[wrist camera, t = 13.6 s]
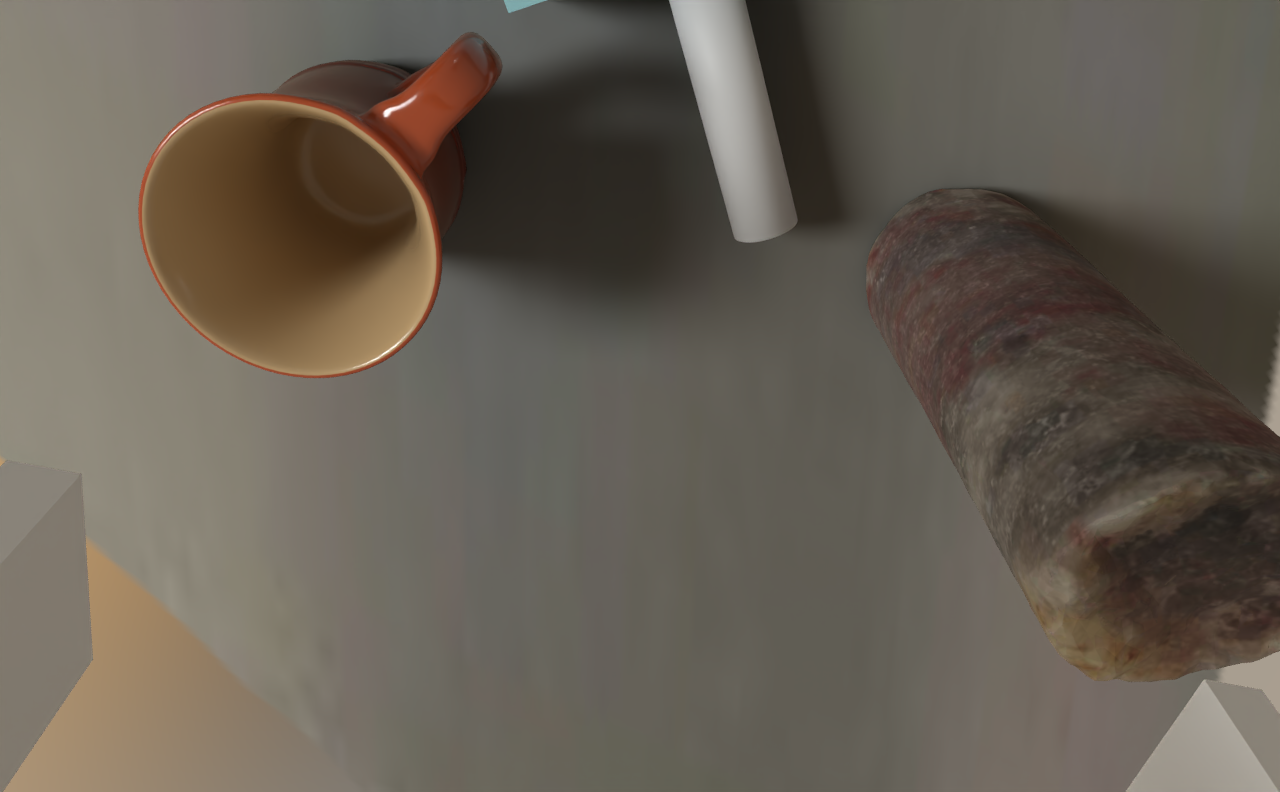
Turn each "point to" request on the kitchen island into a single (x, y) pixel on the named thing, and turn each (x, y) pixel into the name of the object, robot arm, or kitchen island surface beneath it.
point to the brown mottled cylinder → (1084, 441)
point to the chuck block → (733, 114)
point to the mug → (315, 210)
